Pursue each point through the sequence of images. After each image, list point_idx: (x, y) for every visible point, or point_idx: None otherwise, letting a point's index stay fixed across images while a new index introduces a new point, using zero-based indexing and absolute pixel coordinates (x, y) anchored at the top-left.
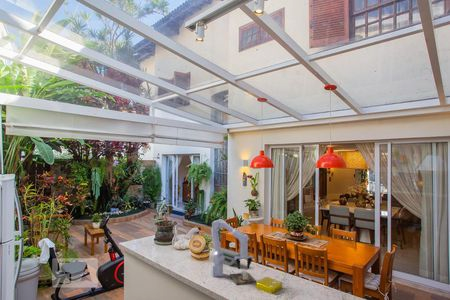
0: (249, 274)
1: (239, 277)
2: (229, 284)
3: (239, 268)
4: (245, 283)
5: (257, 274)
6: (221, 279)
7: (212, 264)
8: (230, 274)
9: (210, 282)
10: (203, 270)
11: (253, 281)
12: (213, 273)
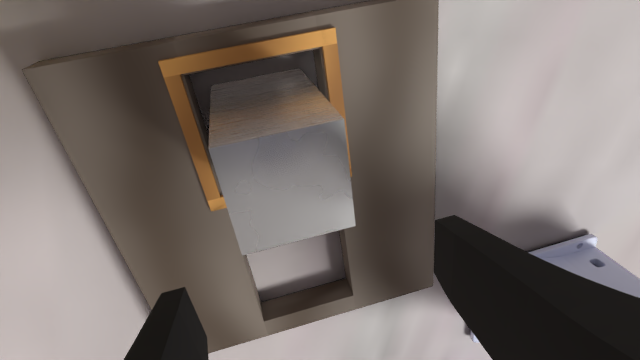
0: None
1: None
2: (510, 20)
3: (457, 226)
4: (261, 22)
5: (35, 352)
6: (540, 179)
7: None
8: (427, 277)
9: None
10: None
11: (90, 54)
12: (612, 264)
